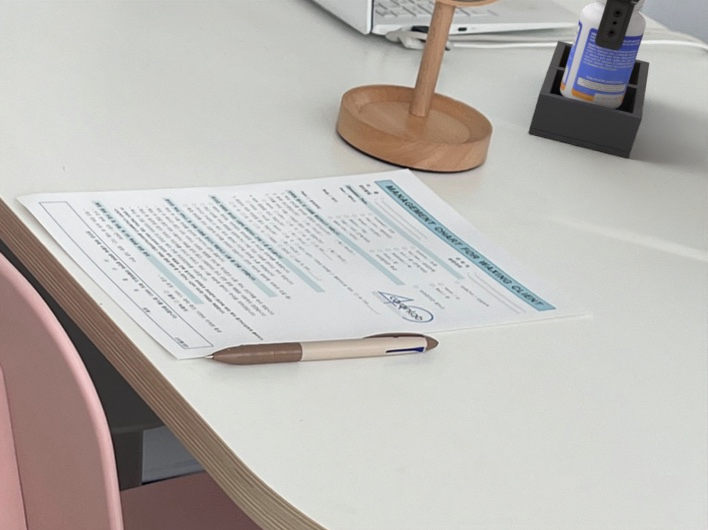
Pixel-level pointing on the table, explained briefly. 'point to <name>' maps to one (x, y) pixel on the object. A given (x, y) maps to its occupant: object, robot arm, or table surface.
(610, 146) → the sorting tray
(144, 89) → the table surface
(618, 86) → the pill bottle
